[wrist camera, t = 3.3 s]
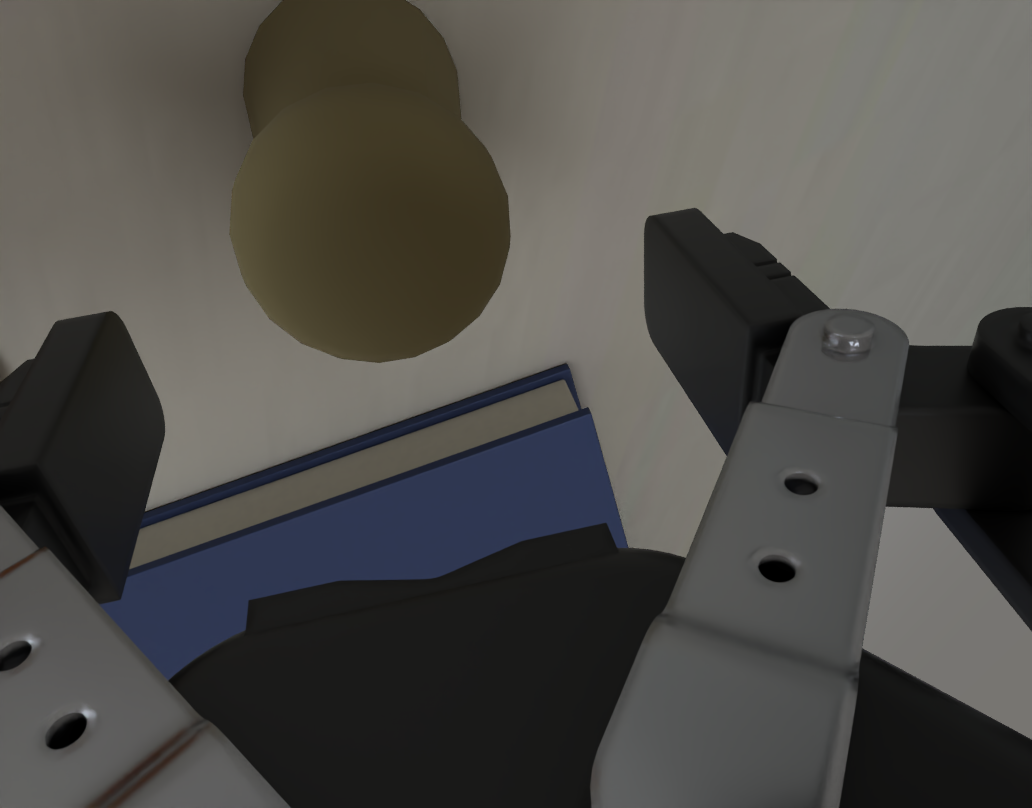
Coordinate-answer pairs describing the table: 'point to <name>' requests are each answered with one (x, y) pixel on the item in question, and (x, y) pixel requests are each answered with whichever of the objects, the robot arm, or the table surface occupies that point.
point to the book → (368, 514)
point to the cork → (364, 183)
